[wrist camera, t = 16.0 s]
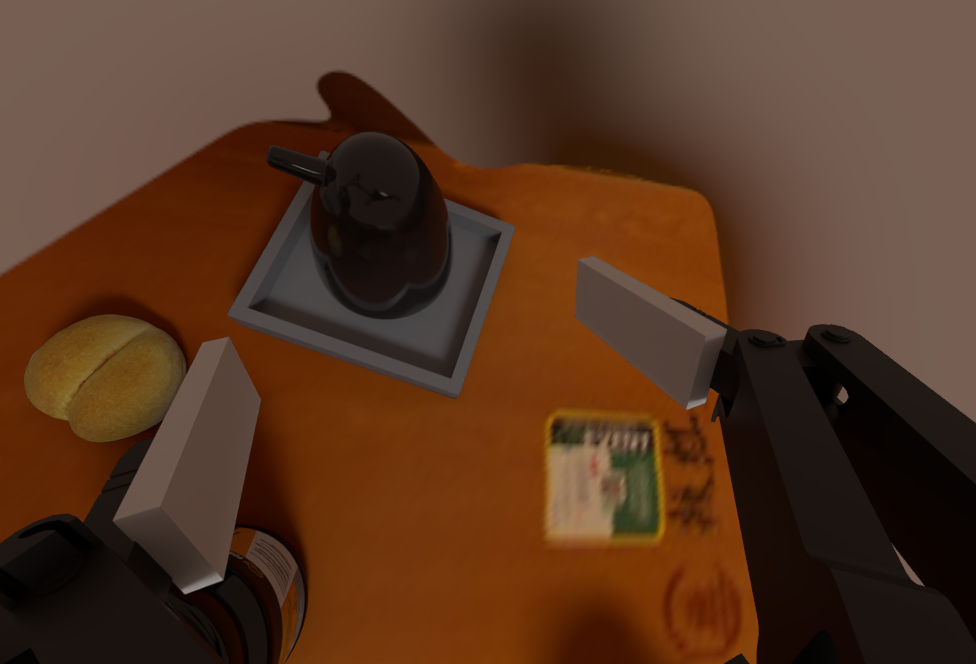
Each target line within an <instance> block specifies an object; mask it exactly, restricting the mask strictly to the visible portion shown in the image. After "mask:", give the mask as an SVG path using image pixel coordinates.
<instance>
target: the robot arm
mask: <svg viewBox="0 0 976 664" xmlns="http://www.w3.org/2000/svg"><path fill="white" fill-rule="evenodd" d="M575 317H576V318H577V319H578V320H579V321H580V322H582V323H583V324H584V325H585V326H586V327H588V328H589V329H590V330H591V331H592V332H594V333H595V334H596V335H597V336H598V337H600V338H601V339H602V340H603V341H604V342H606V343H607V344H608V345H609V346H610V347H612V348H613V349H614V350H615V351H616V352H618V353H619V354H620V355H621V356H622V357H624V358H625V359H626V360H627V361H628V362H630V363H631V364H632V365H633V366H634V367H636V368H637V369H638V370H639V371H640V372H642V373H643V374H644V375H645V376H646V377H648V378H649V379H650V380H651V381H652V382H654V383H655V384H656V385H657V386H658V387H660V388H661V389H662V390H663V391H664V392H666V393H667V394H668V395H669V396H670V397H672V398H673V399H674V400H675V401H676V402H678V403H679V404H680V405H681V406H682V407H684V408H685V409H686V410H687V409H690V408H692V407H695V406H698V405H701V404H703V403H706V399H707V396H708V392H709V389H710V388H712V389H713V390H715V391H716V392H717V393H719V396H718V399H717V402H716V405H715V408H714V411H713V414H712V418H711V422H715V420H716V417H718V416H719V419H720V424H721V429H722V434H723V440H724V445H725V450H726V455H727V461H728V466H729V471H730V476H731V482H732V487H733V492H734V497H735V503H736V508H737V513H738V518H739V523H740V529H741V534H742V539H743V544H744V550H745V555H746V560H747V565H748V571H749V576H750V581H751V586H752V592H753V597H754V602H755V607H756V612H757V618H758V625H759V636H758V644H757V664H976V423H975V422H973V421H972V420H971V419H970V418H968V417H967V416H966V415H964V414H963V413H962V412H960V411H959V410H958V409H957V408H955V407H954V406H953V405H951V404H950V403H948V402H947V401H946V400H945V399H943V398H942V397H941V396H940V395H938V394H937V393H935V392H934V391H933V390H932V389H930V388H929V387H928V386H926V385H925V384H924V383H922V382H921V381H920V380H919V379H917V378H916V377H915V376H913V375H912V374H911V373H909V372H908V371H907V370H905V369H904V368H903V367H901V366H900V365H899V364H897V363H896V362H895V361H893V360H892V359H891V358H890V357H888V356H887V355H886V354H884V353H883V352H882V351H881V350H879V349H878V348H877V347H875V346H874V345H873V344H871V343H870V342H869V341H867V340H866V339H865V338H863V337H862V336H861V335H859V334H857V333H856V332H854V331H851V330H848V329H846V328H845V327H841V326H837V325H825V324H820V325H814V326H812V327H810V328H809V329H808V332H807V334H806V336H805V339H804V340H794V341H787V340H786V339H784V338H783V337H781V336H779V335H777V334H775V333H772V332H769V331H764V330H755V329H754V330H753V329H751V330H750V329H749V330H744V331H741V332H739V331H737V330H736V329H734V328H732V327H730V326H728V325H726V324H725V323H723V322H721V321H719V320H717V319H715V318H713V317H712V316H710V315H706V313H704V312H702V311H701V310H697V309H696V308H695V307H693V306H691V305H689V304H688V303H686V302H683V301H680V300H677V299H673V298H670V297H667V296H665V295H663V294H662V293H660V292H658V291H656V290H654V289H653V288H651V287H649V286H647V285H645V284H643V283H642V282H640V281H638V280H636V279H634V278H633V277H631V276H629V275H627V274H625V273H623V272H622V271H620V270H618V269H616V268H614V267H613V266H611V265H609V264H607V263H605V262H603V261H602V260H600V259H598V258H596V257H594V256H592V257H587V258H583V259H578V266H577V286H576V305H575ZM842 387H844V388H845V389H846V391H847V393H848V396H849V398H848V399H847V401H846V402H845V403H842V402H841V401H840V400H839V399H838V398H837V396H838V394H839V393H840V391H841V389H842ZM260 403H261V399H260V397H259V395H258V393H257V391H256V389H255V387H254V385H253V383H252V381H251V379H250V377H249V375H248V373H247V371H246V369H245V368H244V366H243V364H242V362H241V360H240V358H239V356H238V354H237V352H236V350H235V348H234V346H233V344H232V342H231V340H230V338H229V337H226V338H221V339H217V340H212V341H208V342H203V343H202V345H201V347H200V349H199V351H198V353H197V355H196V357H195V359H194V361H193V363H192V365H191V367H190V369H189V371H188V373H187V375H186V377H185V379H184V381H183V382H182V384H181V386H180V388H179V390H178V392H177V394H176V396H175V398H174V400H173V402H172V404H171V406H170V408H169V410H168V412H167V414H166V416H165V418H164V420H163V422H162V424H161V426H160V428H159V430H158V432H157V434H156V436H155V437H154V438H150V439H146V440H143V441H139V442H137V443H136V444H135V445H134V446H133V447H132V448H131V449H130V450H129V451H128V452H127V453H126V454H125V455H124V456H123V457H122V458H121V459H120V460H119V461H118V463H117V465H116V467H115V468H114V470H113V472H112V474H111V475H110V480H108V481H107V482H106V484H105V486H104V488H103V489H102V491H101V492H102V494H101V495H99V496H98V498H97V500H96V501H95V503H94V505H93V507H92V508H91V510H90V512H89V514H88V515H87V517H86V519H85V521H84V522H83V523H82V522H81V521H80V520H79V519H78V518H77V517H75V516H73V515H70V514H59V515H52V516H50V517H47V518H44V519H41V520H39V521H36V522H34V523H32V524H30V525H28V526H26V527H25V528H23V529H21V530H19V531H17V532H15V533H14V534H13V535H11V536H10V537H8V538H7V539H6V540H4V541H3V542H2V543H0V606H1V607H0V664H227V663H226V662H225V661H224V660H223V659H222V658H221V657H220V656H219V655H218V654H217V653H216V652H215V651H214V650H213V649H212V648H211V647H210V646H209V645H208V644H207V642H206V641H205V640H204V639H203V638H202V637H201V636H200V635H199V634H198V633H197V632H196V631H195V630H194V629H193V628H192V627H191V626H190V625H189V624H188V623H187V622H186V621H185V619H184V618H183V617H182V616H181V615H180V614H179V613H178V612H177V611H176V610H175V609H174V608H173V607H172V606H171V605H170V604H169V603H168V602H167V601H166V598H167V595H168V592H169V589H170V586H171V582H172V581H173V582H174V583H175V585H176V586H177V587H178V588H179V589H180V590H181V591H182V592H183V593H184V594H187V593H189V592H192V591H195V590H198V589H200V588H203V587H206V586H209V585H211V584H214V583H217V582H219V581H222V580H224V575H225V570H226V565H227V561H228V556H229V551H230V546H231V541H232V537H233V532H234V527H235V522H236V518H237V513H238V508H239V503H240V498H241V494H242V489H243V484H244V479H245V474H246V470H247V465H248V460H249V455H250V451H251V446H252V441H253V436H254V431H255V427H256V422H257V417H258V412H259V407H260ZM891 543H892V544H893V546H894V547H895V548H896V550H897V551H898V552H899V553H900V555H901V556H902V557H903V559H904V560H905V561H906V562H907V564H908V565H909V566H910V567H911V569H912V570H913V571H914V572H915V574H916V575H917V576H918V578H919V579H920V580H921V582H922V583H923V584H924V585H925V586H921V585H918V584H916V583H915V582H913V581H912V580H911V579H910V577H909V576H908V574H907V573H906V571H905V569H904V567H903V565H902V563H901V562H900V559H899V557H898V556H897V554H896V552H895V550H894V548H893V546H892V544H891ZM724 664H749V663H748V661H747V660H746V659H745V657H744V656H743V655H742V654H739V655H737V656H736V657H734V658H732V659H731V660H729V661H727V662H726V663H724Z"/></svg>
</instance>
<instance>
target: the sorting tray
mask: <svg viewBox="0 0 976 664" xmlns="http://www.w3.org/2000/svg"><path fill="white" fill-rule="evenodd" d="M329 154H330V153H328V152H326V151H323V150H321V152H320V154H319V155H318V157H317V158H320V159H324V160H326V159H327V157H328V156H329ZM314 186H315V185H313V184H311V183H308V182H306V181H303V183H302V185H301V187H300V188H299V190H298V192H297V194H296V195H295V197H294V199H293V201H292V202H291V204H290V206H289V208H288V209H287V211H286V213H285V215H284V216H283V218H282V220H281V222H280V223H279V225H278V227H277V229H276V230H275V232H274V234H273V236H272V237H271V239H270V241H269V243H268V244H267V246H266V248H265V250H264V251H263V253H262V255H261V257H260V258H259V260H258V262H257V264H256V265H255V267H254V269H253V271H252V272H251V274H250V276H249V278H248V279H247V281H246V283H245V285H244V286H243V288H242V290H241V292H240V293H239V295H238V297H237V298H236V300H235V302H234V304H233V305H232V307H231V309H230V311H229V312H228V314H227V315H228V316H229V317H231V318H232V319H233V320H235V321H236V322H238V323H239V324H241V325H242V326H244V327H247V328H250V329H252V330H255V331H258V332H261V333H264V334H267V335H270V336H273V337H276V338H279V339H282V340H284V341H287V342H290V343H293V344H296V345H299V346H302V347H305V348H308V349H311V350H314V351H316V352H319V353H322V354H325V355H328V356H331V357H334V358H337V359H340V360H343V361H346V362H348V363H351V364H354V365H357V366H360V367H363V368H366V369H369V370H372V371H375V372H378V373H380V374H383V375H386V376H389V377H392V378H395V379H398V380H401V381H404V382H407V383H410V384H412V385H415V386H418V387H421V388H424V389H427V390H430V391H433V392H436V393H439V394H442V395H444V396H447V397H450V398H453V399H455V398H457V397H458V396H459V394H460V391H461V388H462V385H463V382H464V379H465V376H466V373H467V370H468V367H469V364H470V361H471V358H472V355H473V352H474V349H475V347H476V344H477V341H478V338H479V335H480V332H481V329H482V326H483V323H484V320H485V317H486V314H487V311H488V308H489V305H490V302H491V299H492V296H493V293H494V290H495V287H496V284H497V281H498V278H499V275H500V272H501V269H502V266H503V263H504V260H505V257H506V254H507V251H508V248H509V245H510V242H511V239H512V236H513V233H514V230H515V227H516V226H513V225H511V224H508V223H505V222H503V221H500V220H498V219H495V218H493V217H490V216H488V215H485V214H483V213H480V212H478V211H475V210H473V209H470V208H467V207H465V206H462V205H460V204H457V203H455V202H452V201H450V200H447V199H445V198H444V201H445V203H446V206H447V209H448V213H449V216H450V221H451V226H452V233H453V248H454V256H453V265H452V270H451V274H450V277H449V280H448V283H447V285H446V287H445V288H444V290H443V292H442V293H441V294H440V296H439V297H438V298H437V299H436V300H435V301H434V302H433V303H432V304H431V305H429V306H428V307H427V308H425V309H423V310H422V311H420V312H418V313H416V314H414V315H411V316H408V317H404V318H400V319H392V320H380V319H373V318H368V317H364V316H361V315H359V314H356V313H354V312H352V311H350V310H348V309H347V308H345V307H344V306H342V305H341V304H340V303H338V302H337V301H336V300H335V299H334V298H333V297H332V296H331V295H330V293H329V292H328V291H327V289H326V288H325V286H324V285H323V283H322V281H321V279H320V277H319V275H318V272H317V269H316V266H315V263H314V259H313V255H312V250H311V244H310V236H309V212H310V204H311V198H312V194H313V190H314Z"/></svg>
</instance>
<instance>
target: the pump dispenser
mask: <svg viewBox="0 0 976 664" xmlns="http://www.w3.org/2000/svg"><path fill="white" fill-rule="evenodd" d="M267 163H268V164H269V166H271V167H273V168H275V169H277V170H280V171H282V172H285V173H287V174H289V175H292V176H294V177H297V178H299V179H301V180H304V181H306V182H308V183H311V184H313V185H315V186H314V190H313V194H312V198H311V204H310V212H309V236H310V244H311V250H312V255H313V259H314V263H315V266H316V269H317V272H318V275H319V277H320V279H321V281H322V283H323V285H324V286H325V288H326V289H327V291H328V292H329V293H330V295H331V296H332V297H333V298H334V299H335V300H336V301H337V302H338V303H340V304H341V305H342V306H344V307H345V308H347V309H348V310H350V311H352V312H354V313H356V314H359V315H361V316H364V317H368V318H373V319H380V320H392V319H400V318H404V317H408V316H411V315H414V314H416V313H418V312H420V311H422V310H423V309H425V308H427V307H428V306H429V305H431V304H432V303H433V302H434V301H435V300H436V299H437V298H438V297H439V296H440V294H441V293H442V292H443V290H444V288H445V287H446V285H447V283H448V280H449V277H450V274H451V270H452V265H453V256H454V248H453V233H452V226H451V221H450V216H449V213H448V209H447V206H446V203H445V201H444V198H443V196H442V193H441V191H440V189H439V187H438V185H437V183H436V181H435V179H434V177H433V175H432V173H431V172H430V170H429V169H428V167H427V166H426V164H425V163H424V161H423V160H422V159H421V158H420V156H419V155H418V154H417V153H416V152H415V151H414V150H413V149H412V148H411V147H409V146H408V145H407V144H406V143H404V142H403V141H401V140H400V139H398V138H396V137H394V136H392V135H389V134H386V133H382V132H374V131H368V132H361V133H357V134H354V135H351V136H349V137H348V138H346V139H345V140H343V141H342V142H341V143H340V144H339V145H338V146H337V147H336V148H335V149H334V150H333V151H332V152H331V153H330V154H329V156H328V157H327V159H326V160H324V159H320V158H317V157H313V156H310V155H306V154H303V153H300V152H296V151H293V150H290V149H286V148H283V147H279V146H276V145H272V146H270V147H269V149H268V151H267Z"/></svg>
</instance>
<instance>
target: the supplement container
mask: <svg viewBox="0 0 976 664" xmlns="http://www.w3.org/2000/svg"><path fill="white" fill-rule="evenodd" d="M166 601H167V602H168V603H169V604H170V605H171V606H172V607H173V608H174V609H175V610H176V611H177V612H178V613H179V614H180V615H181V616H182V617H183V618H184V619H185V621H186V622H187V623H188V624H189V625H190V626H191V627H192V628H193V629H194V630H195V631H196V632H197V633H198V634H199V635H200V636H201V637H202V638H203V639H204V640H205V641H206V642H207V644H208V645H209V646H210V647H211V648H212V649H213V650H214V651H215V652H216V653H217V654H218V655H219V656H220V657H221V658H222V659H223V660H224V661H225V662H226V663H227V664H284V663H285V662H286V660H287V659H288V658H289V656H290V654H291V652H292V651H293V649H294V647H295V645H296V643H297V641H298V639H299V636H300V634H301V631H302V628H303V625H304V622H305V618H306V613H307V607H308V583H307V577H306V573H305V569H304V567H303V564H302V562H301V560H300V558H299V556H298V554H297V553H296V551H295V550H294V549H293V547H292V546H291V545H290V544H289V543H288V542H287V541H286V540H285V539H284V538H282V537H281V536H279V535H278V534H276V533H274V532H273V531H271V530H268V529H266V528H263V527H259V526H255V525H248V524H235V527H234V532H233V537H232V541H231V546H230V551H229V556H228V561H227V565H226V570H225V575H224V580H222V581H219V582H217V583H214V584H211V585H209V586H206V587H203V588H200V589H198V590H195V591H192V592H189V593H187V594H184V593H183V592H182V591H181V590H180V589H179V588H178V587H177V586H176V585H175V583H174V582H173V581H172V582H171V586H170V589H169V592H168V595H167V598H166Z"/></svg>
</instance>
